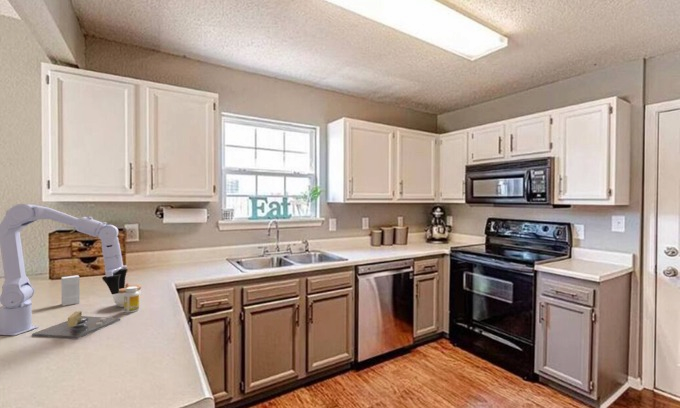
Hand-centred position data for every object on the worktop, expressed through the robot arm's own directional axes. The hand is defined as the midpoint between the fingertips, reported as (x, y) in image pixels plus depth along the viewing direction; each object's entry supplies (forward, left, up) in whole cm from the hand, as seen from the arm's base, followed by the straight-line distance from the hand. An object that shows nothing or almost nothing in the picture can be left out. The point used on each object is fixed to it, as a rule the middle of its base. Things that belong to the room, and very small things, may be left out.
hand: (118, 291), depth 129 cm
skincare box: (-36, +15, -11) cm, 41 cm away
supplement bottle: (-2, +10, -11) cm, 15 cm away
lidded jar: (-10, +17, -11) cm, 23 cm away
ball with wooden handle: (-5, -13, -9) cm, 16 cm away
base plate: (-6, -10, -11) cm, 16 cm away
